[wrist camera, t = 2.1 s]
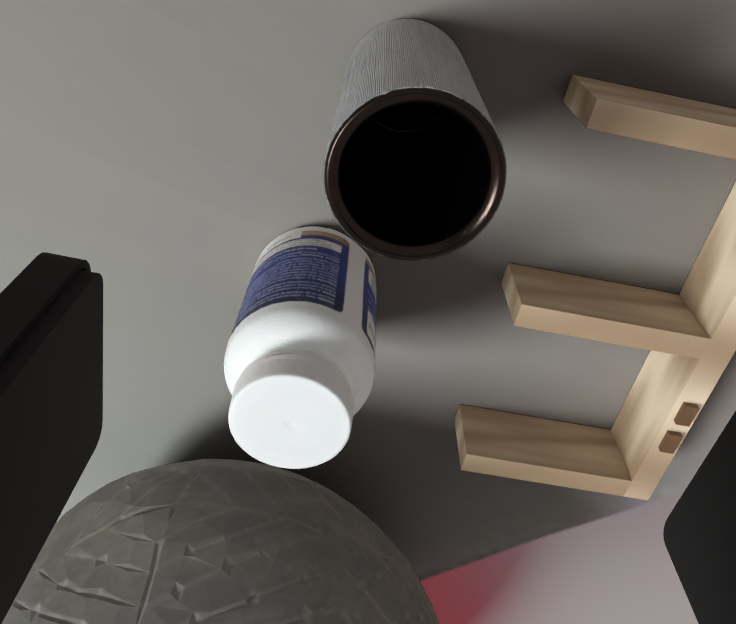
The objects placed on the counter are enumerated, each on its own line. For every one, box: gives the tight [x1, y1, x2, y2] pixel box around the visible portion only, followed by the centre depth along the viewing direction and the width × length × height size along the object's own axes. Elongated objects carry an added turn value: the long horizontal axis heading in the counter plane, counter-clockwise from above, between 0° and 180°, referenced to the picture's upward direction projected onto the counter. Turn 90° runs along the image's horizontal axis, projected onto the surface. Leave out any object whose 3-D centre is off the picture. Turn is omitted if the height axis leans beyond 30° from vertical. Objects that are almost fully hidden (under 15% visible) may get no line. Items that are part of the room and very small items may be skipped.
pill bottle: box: [224, 226, 377, 469], centre depth 26 cm, size 5×5×10 cm
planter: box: [323, 19, 507, 261], centre depth 21 cm, size 4×4×10 cm
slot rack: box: [454, 75, 736, 500], centre depth 28 cm, size 17×9×4 cm, turn 169°
